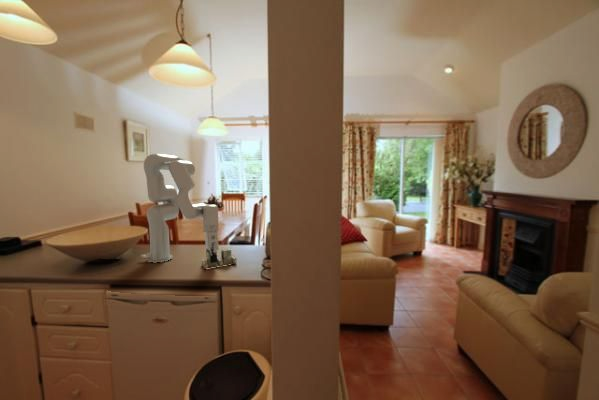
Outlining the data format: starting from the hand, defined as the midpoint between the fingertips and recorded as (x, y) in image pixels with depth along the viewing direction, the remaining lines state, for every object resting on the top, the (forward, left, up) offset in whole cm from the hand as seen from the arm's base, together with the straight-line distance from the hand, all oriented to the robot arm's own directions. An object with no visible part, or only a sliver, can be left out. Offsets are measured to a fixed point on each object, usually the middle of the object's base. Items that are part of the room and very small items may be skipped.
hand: (211, 259), depth 130 cm
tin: (-48, +41, -4) cm, 63 cm away
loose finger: (0, 0, -3) cm, 3 cm away
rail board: (+4, 0, -4) cm, 5 cm away
